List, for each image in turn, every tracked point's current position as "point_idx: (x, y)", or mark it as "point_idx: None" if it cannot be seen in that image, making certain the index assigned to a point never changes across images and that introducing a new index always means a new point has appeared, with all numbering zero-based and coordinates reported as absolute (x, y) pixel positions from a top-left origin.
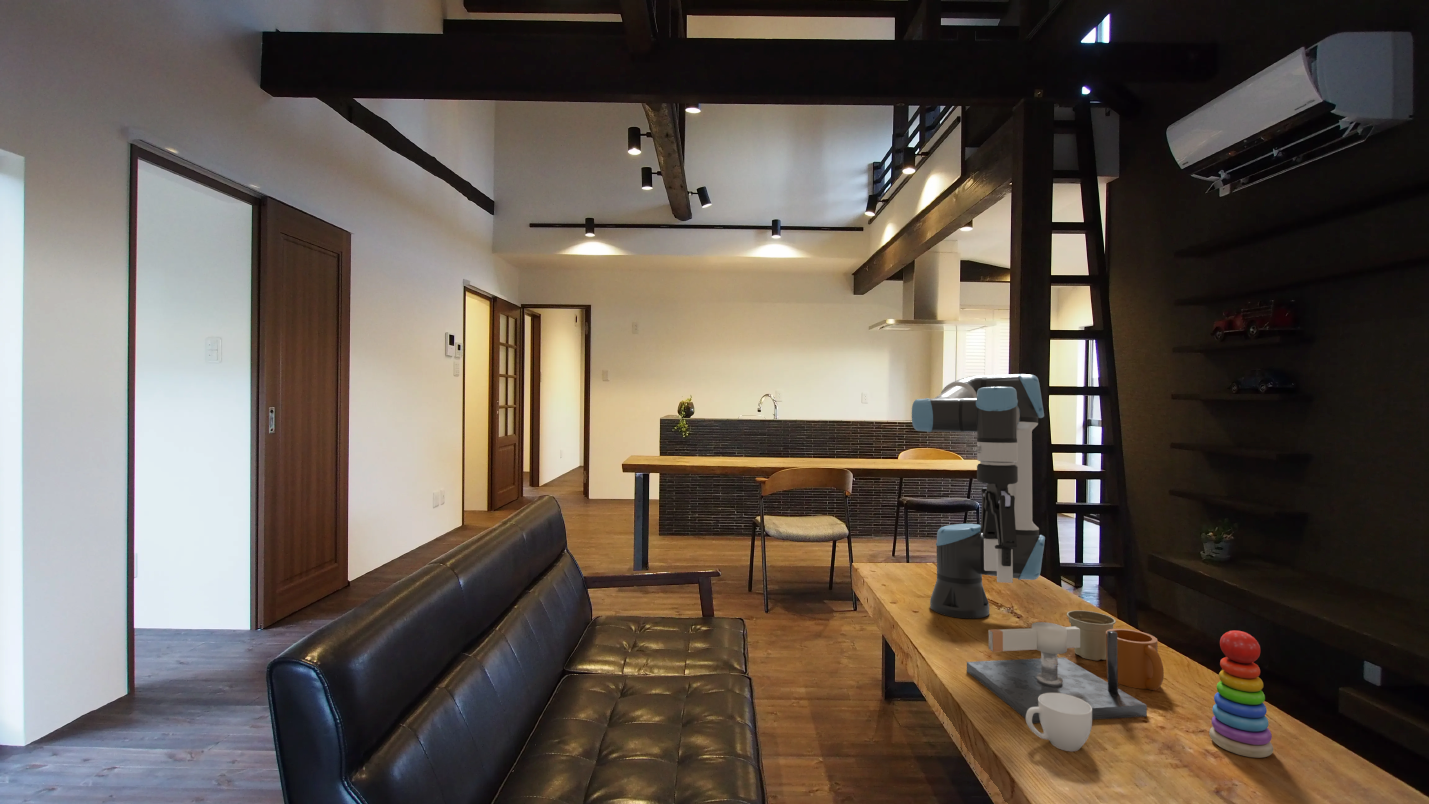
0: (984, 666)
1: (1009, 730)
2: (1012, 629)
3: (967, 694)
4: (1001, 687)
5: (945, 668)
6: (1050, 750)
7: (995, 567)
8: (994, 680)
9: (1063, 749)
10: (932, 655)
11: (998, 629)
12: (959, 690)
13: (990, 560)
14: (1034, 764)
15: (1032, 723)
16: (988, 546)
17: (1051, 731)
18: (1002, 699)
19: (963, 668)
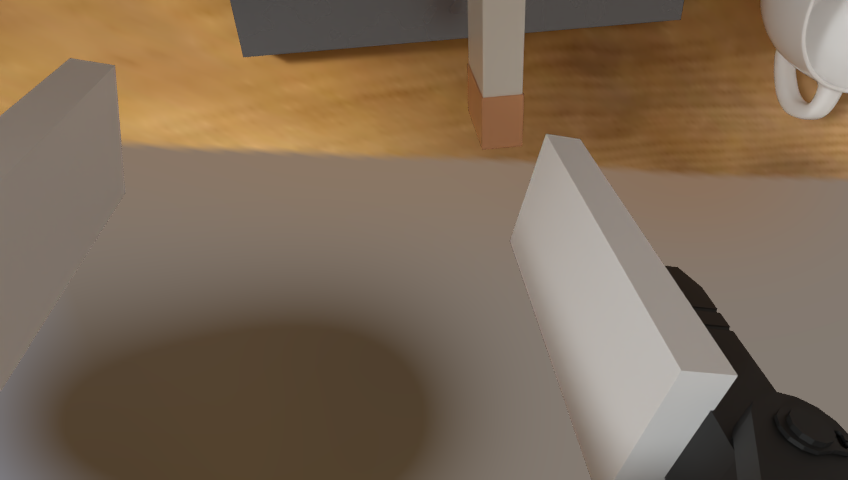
0: (288, 1)
1: (680, 98)
2: (490, 18)
3: (445, 121)
4: None
5: (226, 112)
6: None
7: (102, 113)
8: (428, 26)
9: (826, 2)
10: None
11: (484, 99)
12: (415, 134)
13: (82, 204)
14: (838, 118)
15: (802, 98)
16: (2, 344)
17: (843, 53)
18: None
19: (216, 43)
